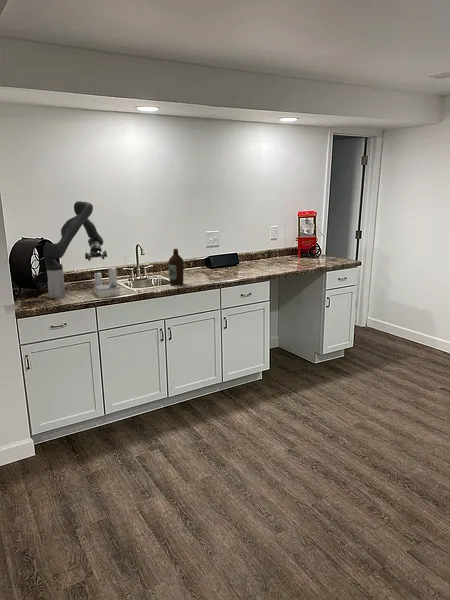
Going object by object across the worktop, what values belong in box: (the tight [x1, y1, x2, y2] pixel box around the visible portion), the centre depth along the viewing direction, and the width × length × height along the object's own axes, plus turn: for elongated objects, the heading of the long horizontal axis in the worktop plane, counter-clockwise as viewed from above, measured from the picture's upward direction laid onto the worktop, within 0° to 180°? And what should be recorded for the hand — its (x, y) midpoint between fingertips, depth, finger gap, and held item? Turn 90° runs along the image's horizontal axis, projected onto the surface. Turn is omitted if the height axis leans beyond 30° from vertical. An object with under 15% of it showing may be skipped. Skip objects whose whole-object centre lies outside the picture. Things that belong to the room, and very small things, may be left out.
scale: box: [93, 283, 121, 298], centre depth 290 cm, size 13×12×5 cm
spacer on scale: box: [108, 267, 118, 288], centre depth 287 cm, size 5×5×12 cm
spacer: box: [93, 272, 103, 286], centre depth 298 cm, size 5×5×12 cm
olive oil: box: [167, 248, 185, 286], centre depth 316 cm, size 11×11×25 cm
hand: (96, 259), depth 301 cm, fingers open, 8 cm apart
